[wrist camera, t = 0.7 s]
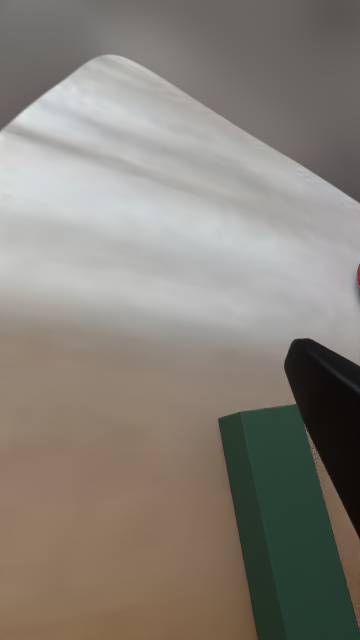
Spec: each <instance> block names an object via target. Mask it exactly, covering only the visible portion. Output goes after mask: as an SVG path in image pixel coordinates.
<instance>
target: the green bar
mask: <svg viewBox="0 0 360 640" xmlns="http://www.w3.org/2000/svg"><path fill="white" fill-rule="evenodd" d="M218 420H219V425H220V431H221V436H222V442H223V447H224V453H225V458H226V464H227V469H228V475H229V481H230V486H231V492H232V497H233V503H234V508H235V514H236V519H237V525H238V530H239V536H240V541H241V547H242V552H243V558H244V563H245V569H246V574H247V580H248V585H249V591H250V596H251V602H252V607H253V613H254V618H255V624H256V629H257V635H258V640H360V632H359V628H358V624H357V620H356V617H355V613H354V609H353V606H352V602H351V598H350V594H349V591H348V587H347V583H346V579H345V576H344V572H343V568H342V565H341V561H340V557H339V553H338V550H337V546H336V542H335V539H334V535H333V531H332V527H331V524H330V520H329V516H328V512H327V509H326V505H325V501H324V498H323V494H322V490H321V486H320V483H319V479H318V475H317V471H316V468H315V464H314V460H313V457H312V453H311V449H310V445H309V442H308V438H307V434H306V431H305V427H304V423H303V419H302V417H301V414H300V412H299V409H298V406H297V404H294V405H286V406H279V407H272V408H264V409H257V410H250V411H242V412H238V413H235V414H231V415H228V416H224V417H221V418H219V419H218Z"/></svg>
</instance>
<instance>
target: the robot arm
mask: <svg viewBox="0 0 360 640" xmlns="http://www.w3.org/2000/svg"><path fill="white" fill-rule="evenodd" d="M284 369H285V373H286V375H287V378H288V381H289V384H290V387H291V389H292V392H293V395H294V398H295V401H296V403H297V406H298V409H299V412H300V414H301V417H302V419H303V422H304V424H305V426H306V428H307V431H308V433H309V435H310V437H311V439H312V441H313V443H314V445H315V447H316V449H317V451H318V453H319V456H320V458H321V460H322V462H323V464H324V466H325V468H326V470H327V472H328V474H329V476H330V478H331V480H332V483H333V485H334V487H335V489H336V491H337V493H338V495H339V497H340V499H341V501H342V503H343V505H344V507H345V510H346V512H347V514H348V516H349V518H350V520H351V522H352V524H353V526H354V528H355V530H356V532H357V534H358V537H359V539H360V366H359V365H357V364H355V363H353V362H351V361H350V360H348V359H346V358H344V357H342V356H341V355H339V354H337V353H335V352H333V351H332V350H330V349H328V348H326V347H324V346H323V345H321V344H319V343H317V342H315V341H313V340H312V339H309V338H303V339H295V340H293V342H292V343H291V346H290V349H289V351H288V354H287V357H286V359H285V363H284Z"/></svg>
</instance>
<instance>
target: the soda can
mask: <svg viewBox="0 0 360 640" xmlns="http://www.w3.org/2000/svg"><path fill="white" fill-rule="evenodd" d="M357 281H358V286H359V289H360V264H359V267H358V271H357Z"/></svg>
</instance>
